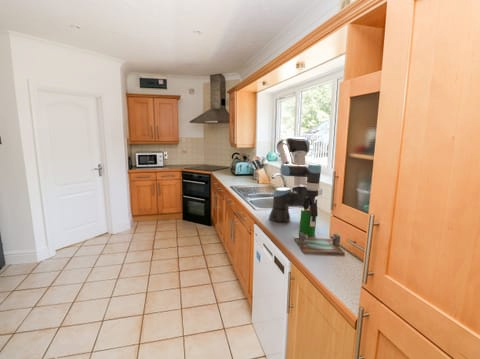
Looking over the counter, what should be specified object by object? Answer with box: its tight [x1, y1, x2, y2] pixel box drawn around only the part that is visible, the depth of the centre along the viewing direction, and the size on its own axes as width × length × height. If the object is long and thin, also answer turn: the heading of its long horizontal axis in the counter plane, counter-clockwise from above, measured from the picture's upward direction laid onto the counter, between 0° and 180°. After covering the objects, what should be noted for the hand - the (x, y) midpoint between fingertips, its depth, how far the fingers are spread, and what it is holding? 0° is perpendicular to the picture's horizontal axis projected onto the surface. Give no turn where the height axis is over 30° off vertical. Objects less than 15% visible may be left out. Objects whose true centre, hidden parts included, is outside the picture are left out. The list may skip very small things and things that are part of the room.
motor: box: [298, 206, 318, 238], centre depth 162 cm, size 10×9×20 cm
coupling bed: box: [294, 232, 346, 256], centre depth 144 cm, size 18×22×8 cm
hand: (308, 222), depth 162 cm, fingers open, 13 cm apart
